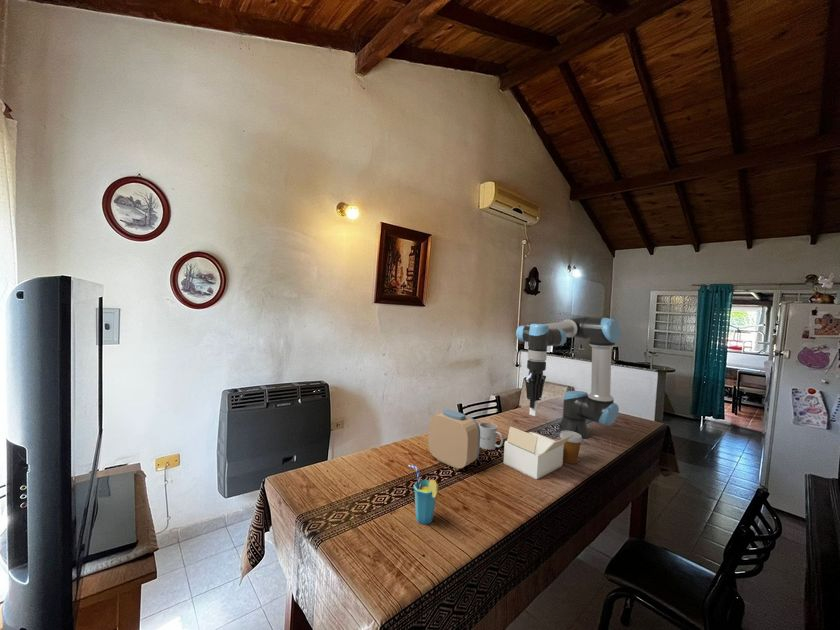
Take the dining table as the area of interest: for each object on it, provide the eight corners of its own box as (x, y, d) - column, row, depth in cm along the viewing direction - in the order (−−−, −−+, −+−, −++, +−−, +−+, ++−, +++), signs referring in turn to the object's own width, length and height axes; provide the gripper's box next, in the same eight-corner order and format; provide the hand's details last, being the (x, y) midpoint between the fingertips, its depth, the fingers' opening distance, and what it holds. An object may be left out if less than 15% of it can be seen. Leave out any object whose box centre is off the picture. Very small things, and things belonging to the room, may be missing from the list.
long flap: (572, 434, 138) (572, 435, 138) (561, 444, 142) (562, 444, 142) (552, 442, 129) (553, 443, 129) (542, 453, 132) (543, 453, 132)
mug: (474, 444, 162) (475, 424, 162) (485, 440, 167) (486, 421, 167) (494, 454, 152) (495, 432, 152) (505, 449, 158) (507, 429, 157)
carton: (529, 451, 157) (530, 430, 157) (563, 465, 144) (564, 443, 144) (502, 462, 144) (503, 440, 144) (536, 479, 132) (538, 455, 131)
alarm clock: (479, 467, 139) (481, 416, 138) (465, 475, 132) (468, 422, 131) (441, 450, 153) (443, 404, 152) (427, 457, 146) (429, 408, 145)
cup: (398, 512, 107) (400, 466, 107) (415, 502, 113) (417, 459, 112) (430, 534, 97) (432, 484, 97) (447, 523, 103) (449, 475, 102)
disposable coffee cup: (583, 466, 144) (585, 439, 144) (560, 463, 146) (561, 436, 146) (577, 457, 154) (579, 431, 153) (555, 454, 155) (557, 429, 155)
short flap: (510, 426, 143) (510, 426, 143) (537, 436, 133) (537, 436, 133) (507, 441, 142) (506, 441, 142) (534, 453, 132) (534, 453, 132)
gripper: (537, 357, 148) (533, 410, 149) (520, 359, 140) (516, 415, 141) (553, 360, 142) (549, 415, 143) (536, 362, 134) (532, 420, 135)
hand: (533, 415), depth 142 cm, fingers closed
